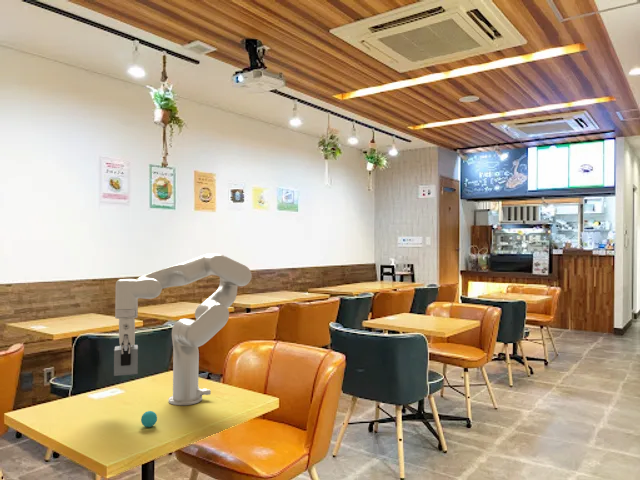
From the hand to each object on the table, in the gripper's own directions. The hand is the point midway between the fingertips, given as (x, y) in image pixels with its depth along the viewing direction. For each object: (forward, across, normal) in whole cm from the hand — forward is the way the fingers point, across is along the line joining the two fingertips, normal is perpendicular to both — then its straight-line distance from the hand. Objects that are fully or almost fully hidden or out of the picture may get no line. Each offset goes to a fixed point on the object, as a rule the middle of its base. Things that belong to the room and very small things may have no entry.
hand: (126, 362), depth 176 cm
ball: (+15, -18, -8) cm, 25 cm away
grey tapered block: (+4, 0, 0) cm, 4 cm away
